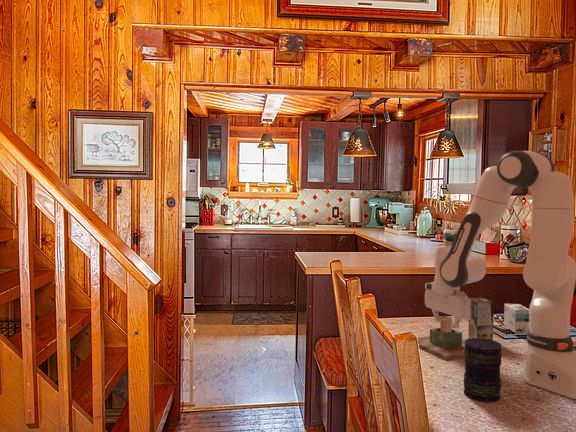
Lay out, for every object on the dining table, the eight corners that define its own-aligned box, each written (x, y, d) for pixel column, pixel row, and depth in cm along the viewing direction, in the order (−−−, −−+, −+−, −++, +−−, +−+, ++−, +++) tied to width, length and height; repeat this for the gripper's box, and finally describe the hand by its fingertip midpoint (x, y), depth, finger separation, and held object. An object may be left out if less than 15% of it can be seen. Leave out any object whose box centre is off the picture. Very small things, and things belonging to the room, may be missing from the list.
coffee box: (493, 345, 180) (494, 302, 179) (476, 345, 180) (477, 302, 179) (484, 337, 189) (485, 297, 188) (467, 337, 189) (468, 297, 188)
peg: (453, 344, 175) (454, 318, 175) (445, 346, 174) (445, 319, 173) (446, 341, 179) (446, 315, 178) (437, 343, 177) (438, 316, 177)
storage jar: (470, 385, 143) (471, 335, 142) (504, 393, 137) (506, 342, 136) (458, 396, 135) (459, 344, 134) (494, 406, 129) (495, 351, 128)
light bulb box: (531, 336, 191) (532, 309, 190) (514, 336, 191) (515, 309, 190) (519, 328, 202) (519, 303, 201) (503, 328, 202) (503, 303, 201)
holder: (484, 353, 171) (485, 335, 170) (445, 360, 164) (445, 341, 163) (445, 337, 189) (446, 321, 189) (408, 343, 182) (409, 326, 182)
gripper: (474, 292, 167) (474, 331, 168) (435, 282, 186) (434, 317, 186) (460, 293, 164) (460, 333, 165) (422, 283, 183) (421, 319, 184)
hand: (446, 324), depth 176 cm, fingers open, 8 cm apart
